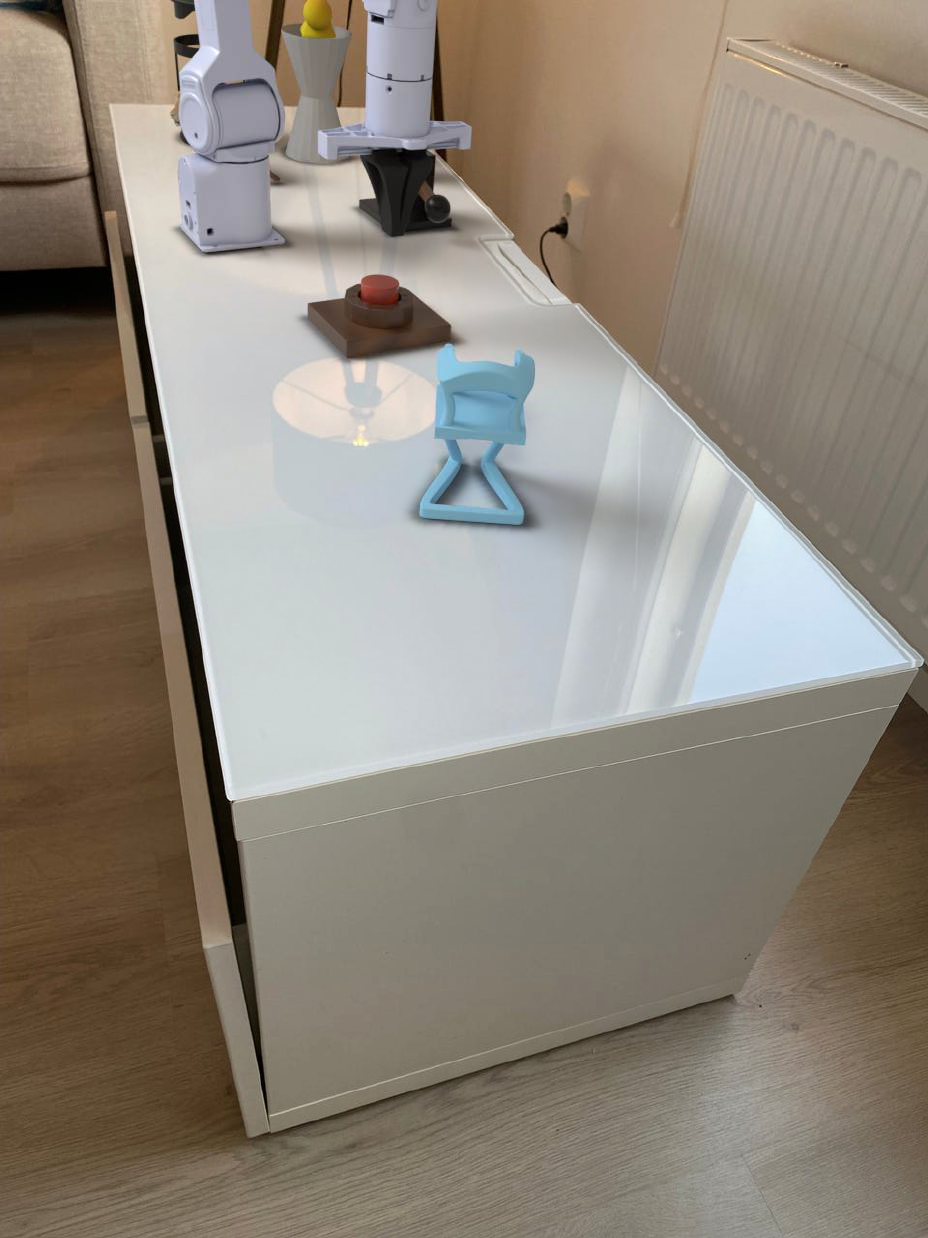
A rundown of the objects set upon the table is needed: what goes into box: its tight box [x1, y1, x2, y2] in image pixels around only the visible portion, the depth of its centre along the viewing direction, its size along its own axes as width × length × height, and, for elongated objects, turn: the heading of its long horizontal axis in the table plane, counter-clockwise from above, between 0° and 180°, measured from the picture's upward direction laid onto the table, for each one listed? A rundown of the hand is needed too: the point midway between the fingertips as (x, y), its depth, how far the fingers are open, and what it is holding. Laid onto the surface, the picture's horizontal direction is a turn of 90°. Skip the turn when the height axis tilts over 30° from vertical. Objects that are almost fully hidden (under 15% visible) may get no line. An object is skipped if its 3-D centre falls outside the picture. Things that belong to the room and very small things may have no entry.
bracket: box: [358, 150, 453, 233], centre depth 119 cm, size 9×8×8 cm
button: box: [360, 273, 400, 305], centre depth 95 cm, size 4×4×2 cm
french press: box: [170, 0, 245, 146], centre depth 132 cm, size 12×9×23 cm
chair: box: [419, 343, 536, 526], centre depth 73 cm, size 8×8×12 cm
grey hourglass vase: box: [280, 0, 353, 163], centre depth 127 cm, size 9×9×35 cm
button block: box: [307, 282, 452, 359], centre depth 96 cm, size 11×9×4 cm
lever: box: [418, 181, 452, 223], centre depth 116 cm, size 11×3×3 cm, turn 30°
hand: (392, 232), depth 95 cm, fingers closed
